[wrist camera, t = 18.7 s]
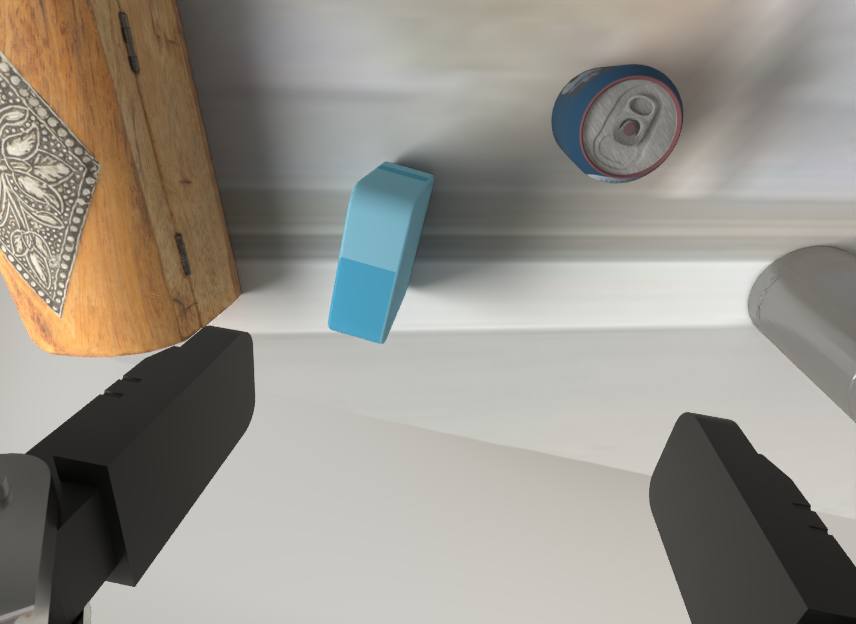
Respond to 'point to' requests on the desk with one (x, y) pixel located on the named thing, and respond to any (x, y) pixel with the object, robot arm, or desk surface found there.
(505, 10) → the desk surface
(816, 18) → the desk surface
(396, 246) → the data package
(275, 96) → the desk surface
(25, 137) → the wooden box
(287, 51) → the desk surface
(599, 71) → the soda can
